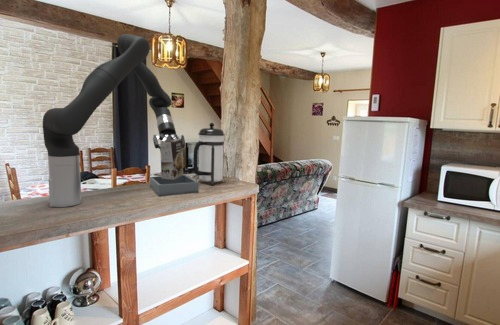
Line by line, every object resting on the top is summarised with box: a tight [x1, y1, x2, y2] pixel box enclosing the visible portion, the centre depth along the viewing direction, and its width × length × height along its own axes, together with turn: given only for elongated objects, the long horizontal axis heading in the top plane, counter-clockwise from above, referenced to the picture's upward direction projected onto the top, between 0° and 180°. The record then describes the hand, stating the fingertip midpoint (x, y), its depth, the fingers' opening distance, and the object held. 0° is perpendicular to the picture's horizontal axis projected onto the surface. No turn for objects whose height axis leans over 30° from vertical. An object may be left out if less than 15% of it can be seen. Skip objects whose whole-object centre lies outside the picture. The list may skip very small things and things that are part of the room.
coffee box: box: [160, 139, 184, 180], centre depth 127 cm, size 9×6×16 cm
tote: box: [149, 174, 199, 197], centre depth 129 cm, size 17×19×4 cm
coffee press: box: [192, 122, 226, 186], centre depth 143 cm, size 17×16×30 cm
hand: (172, 154), depth 129 cm, fingers closed on coffee box, 7 cm apart
